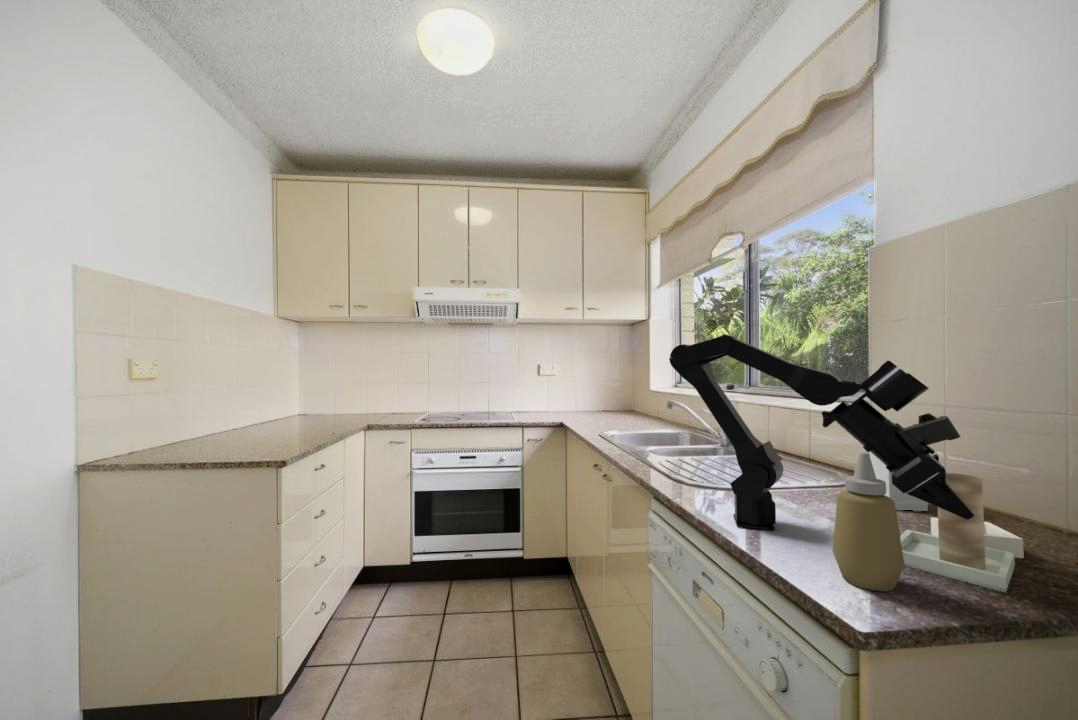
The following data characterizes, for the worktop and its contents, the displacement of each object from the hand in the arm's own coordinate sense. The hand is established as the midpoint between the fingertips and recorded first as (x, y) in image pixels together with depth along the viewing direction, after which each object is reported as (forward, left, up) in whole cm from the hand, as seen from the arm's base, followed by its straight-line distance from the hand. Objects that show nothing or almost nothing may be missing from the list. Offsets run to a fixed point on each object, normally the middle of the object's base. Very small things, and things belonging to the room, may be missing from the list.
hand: (966, 509), depth 65 cm
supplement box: (+4, +33, -9) cm, 34 cm away
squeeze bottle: (-16, -10, -9) cm, 21 cm away
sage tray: (-2, +1, -9) cm, 9 cm away
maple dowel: (-1, 0, -8) cm, 8 cm away
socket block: (+6, +11, -9) cm, 15 cm away
